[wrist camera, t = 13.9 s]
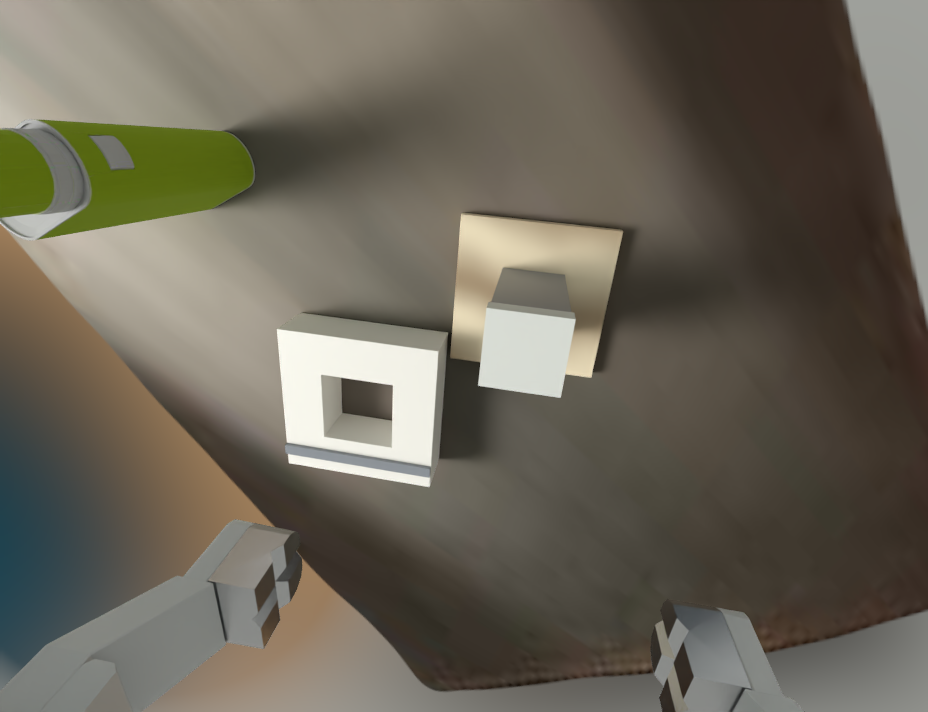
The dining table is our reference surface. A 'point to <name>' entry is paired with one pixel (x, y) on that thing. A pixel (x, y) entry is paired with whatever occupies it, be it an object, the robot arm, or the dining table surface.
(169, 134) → the vape
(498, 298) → the plug
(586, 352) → the coaster
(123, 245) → the dining table surface
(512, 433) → the dining table surface
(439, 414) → the white flat square piece
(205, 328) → the dining table surface
